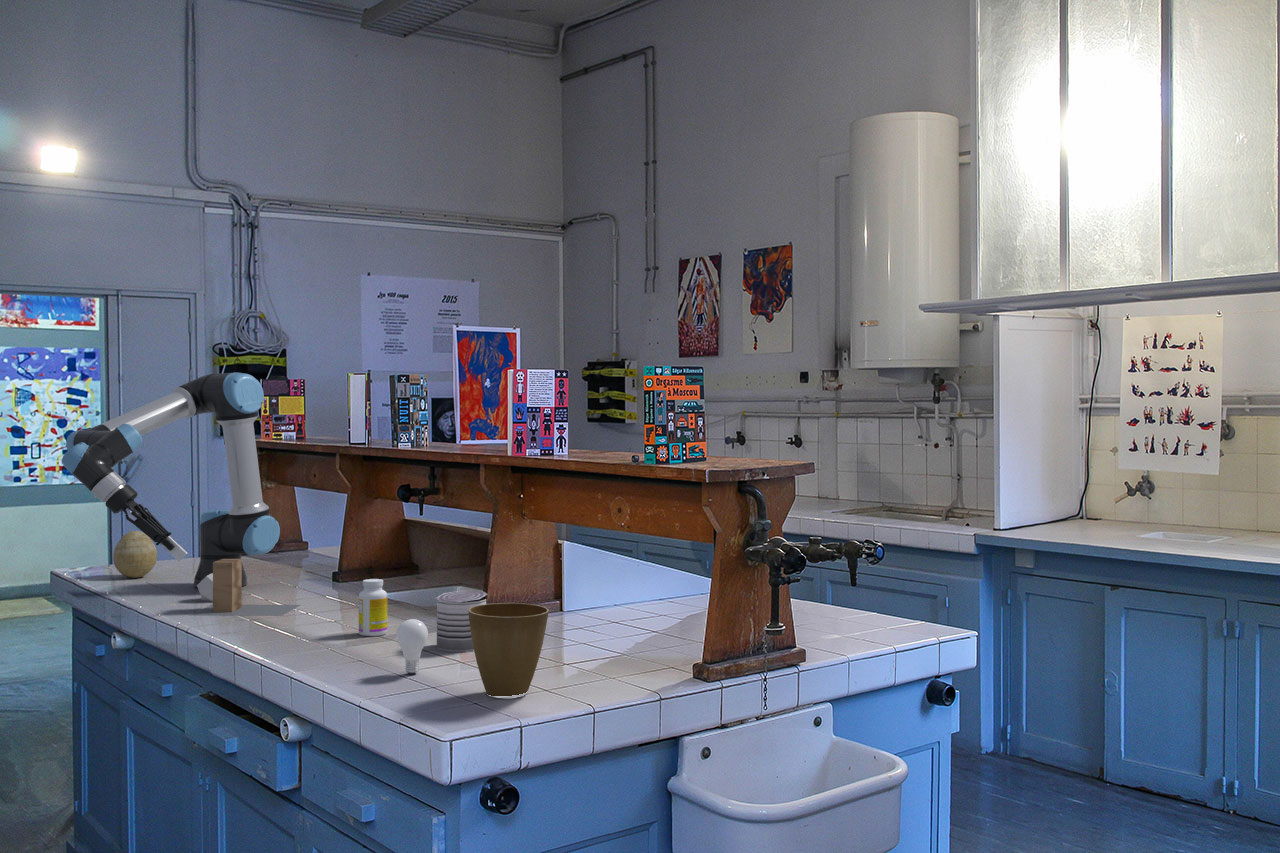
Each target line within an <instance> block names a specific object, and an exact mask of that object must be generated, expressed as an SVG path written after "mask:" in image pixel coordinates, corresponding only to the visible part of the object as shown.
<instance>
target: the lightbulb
mask: <svg viewBox="0 0 1280 853" xmlns="http://www.w3.org/2000/svg"><path fill="white" fill-rule="evenodd" d="M395 639H396V643H397V644H398V647H400V649H401V651H402V654H403V658H404V664H405V668H404V669H405V670H404V672H405V673H407V674H409V675H415V674H416V673H418V672H419V670H420V668H419V667H420V666H419V664H420V658H421V654H422V650H423V648H424V647H425V646H426V645H427V642H428V639H429V630H428V628H427V626H426V624H425V623H424V622H423V621H421V620H419V619H416V618H410V619H406V620H405V621H402V623H400V624H399V625H398V627H397V629H396V633H395Z"/></svg>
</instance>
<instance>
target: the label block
mask: <svg viewBox="0 0 1280 853" xmlns="http://www.w3.org/2000/svg"><path fill="white" fill-rule="evenodd" d="M242 560H243V559H242V558H241V559H221V560H218V561H215V562H213V602H212V605H213V612H234V611H236V610H238V609H240V608H242V605H243V604H242V602H243V601H242V600H243V599H242V596H243V595H242V592H243V591H242V589H243V586H242V564H243V561H242Z"/></svg>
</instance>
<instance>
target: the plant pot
mask: <svg viewBox="0 0 1280 853" xmlns="http://www.w3.org/2000/svg"><path fill="white" fill-rule="evenodd" d="M549 612H550V611H549V608H547V607H546V606H542V605H538V604H533V603H521V602H520V603H519V602H499V603H498V602H497V603H486V604H484V605H477V606H473V607H471V608H469V609H468V613H469V622H470V630H471V637H472V642H473V647H474V651H473V652H474V656H475V660H476V664H477V665H476V666H477V669H478V672H479V675H480V678H481V682H482V684H483V687H484V690H485V693H486V695H487V694H488V695H491V696H512V695H519V694H523V693H526V692H527V691H529V689H530V686H531V683H532V682H533V679H534V676H535V672H536V669H537V667H538V662H539V660H540V656H541V653H542V648H543V644H544V639H545V636H546V630H547V624H548V618H549ZM527 693H528V692H527ZM488 695H487V696H488Z"/></svg>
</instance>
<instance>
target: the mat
mask: <svg viewBox="0 0 1280 853" xmlns="http://www.w3.org/2000/svg"><path fill="white" fill-rule="evenodd" d="M300 606H301V604H242V608H240V609H238V610H236V611H234V612H213V604H210V605H209V606H205V607H204V608H201V609H199V610H198V611H195V612H193V613H191V614H189V616H201V617H202V616H212V617H213V616H216V617H217V616H222V617H224V616H232V617H235V616H238V617H241V616H244V617H245V616H247V617H252V616H254V617H257V616H258V617H259V616H260V617H261V616H262V617H263V616H264V617H268V616H269V617H270V616H271V617H272V616H273V617H276V616H277V617H279V616H281V617H283V616H284V615H286V614H288V613H290V612H292V611H294V609H297V608H298V607H300Z"/></svg>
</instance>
